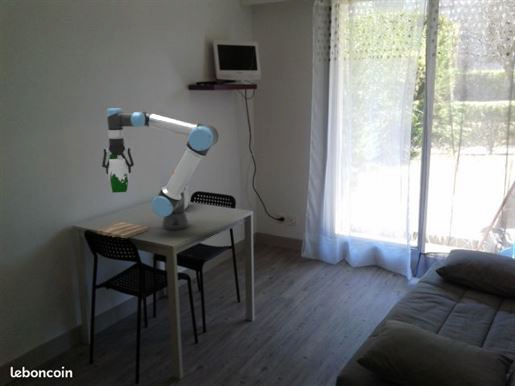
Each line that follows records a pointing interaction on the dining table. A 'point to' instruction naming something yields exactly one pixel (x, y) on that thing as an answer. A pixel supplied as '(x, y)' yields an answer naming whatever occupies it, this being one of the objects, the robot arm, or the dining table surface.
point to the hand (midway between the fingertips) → (119, 179)
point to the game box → (185, 194)
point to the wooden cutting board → (122, 230)
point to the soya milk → (118, 174)
